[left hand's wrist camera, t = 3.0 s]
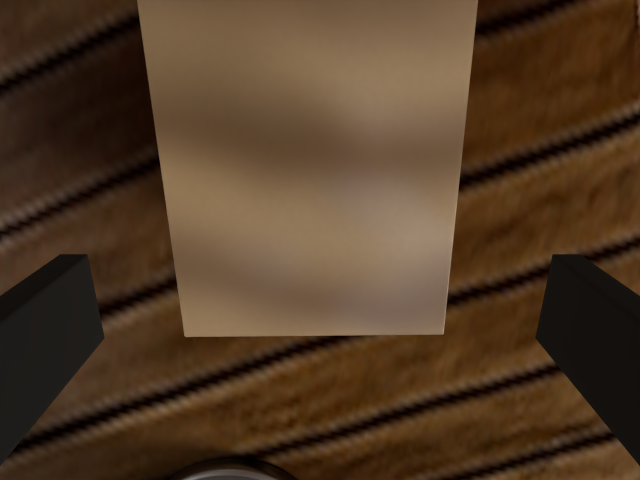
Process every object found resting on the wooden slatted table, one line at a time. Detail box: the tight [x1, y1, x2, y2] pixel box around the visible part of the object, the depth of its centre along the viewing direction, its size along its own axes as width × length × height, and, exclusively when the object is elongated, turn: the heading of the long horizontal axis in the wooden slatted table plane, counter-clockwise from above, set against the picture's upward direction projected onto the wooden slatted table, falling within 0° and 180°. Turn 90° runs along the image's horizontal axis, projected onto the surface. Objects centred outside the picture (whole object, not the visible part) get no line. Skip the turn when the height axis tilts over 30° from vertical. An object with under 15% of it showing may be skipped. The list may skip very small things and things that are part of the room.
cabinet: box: [137, 0, 478, 337], centre depth 22 cm, size 17×12×12 cm
